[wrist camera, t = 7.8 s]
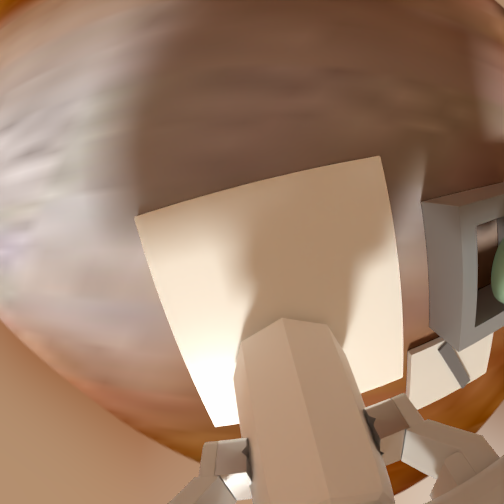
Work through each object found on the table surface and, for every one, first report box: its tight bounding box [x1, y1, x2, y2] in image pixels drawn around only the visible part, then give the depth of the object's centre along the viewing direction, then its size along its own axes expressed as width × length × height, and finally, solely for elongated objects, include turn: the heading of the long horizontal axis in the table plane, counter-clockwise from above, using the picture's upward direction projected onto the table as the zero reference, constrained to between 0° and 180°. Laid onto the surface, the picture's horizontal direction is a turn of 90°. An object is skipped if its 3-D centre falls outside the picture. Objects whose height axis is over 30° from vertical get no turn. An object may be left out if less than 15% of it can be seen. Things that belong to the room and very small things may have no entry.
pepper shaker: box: [233, 318, 395, 504], centre depth 8 cm, size 5×5×11 cm
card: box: [406, 333, 493, 410], centre depth 14 cm, size 5×7×1 cm
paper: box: [134, 156, 403, 427], centre depth 13 cm, size 12×11×1 cm
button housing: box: [421, 182, 504, 352], centre depth 11 cm, size 7×7×3 cm
